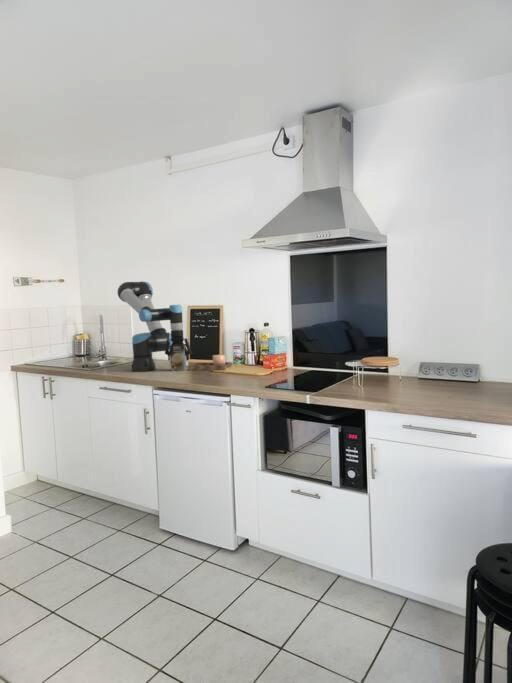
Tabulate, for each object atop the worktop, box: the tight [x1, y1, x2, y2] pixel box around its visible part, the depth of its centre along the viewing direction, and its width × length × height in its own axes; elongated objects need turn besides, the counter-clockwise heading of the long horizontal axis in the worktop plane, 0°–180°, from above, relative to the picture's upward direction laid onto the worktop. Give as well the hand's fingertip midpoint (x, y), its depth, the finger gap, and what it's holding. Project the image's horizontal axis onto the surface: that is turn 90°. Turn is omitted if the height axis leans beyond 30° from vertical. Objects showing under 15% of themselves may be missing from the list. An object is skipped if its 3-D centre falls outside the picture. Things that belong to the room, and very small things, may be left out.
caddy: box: [187, 361, 233, 371], centre depth 298 cm, size 23×14×4 cm, turn 75°
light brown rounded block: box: [212, 354, 226, 366], centre depth 297 cm, size 8×8×8 cm
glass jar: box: [170, 343, 188, 372], centre depth 302 cm, size 9×6×16 cm
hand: (179, 365), depth 302 cm, fingers closed on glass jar, 10 cm apart
